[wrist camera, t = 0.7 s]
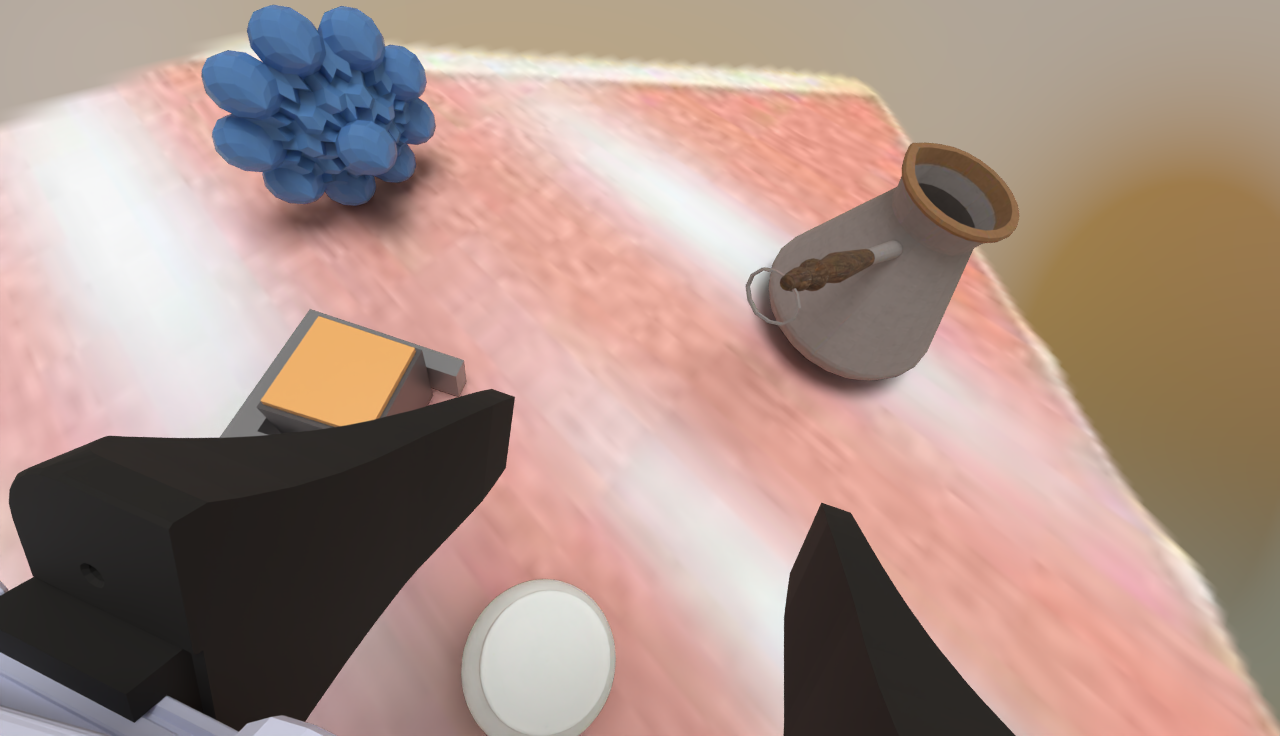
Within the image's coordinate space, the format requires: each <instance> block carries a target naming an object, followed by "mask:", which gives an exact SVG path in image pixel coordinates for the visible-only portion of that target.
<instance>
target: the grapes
mask: <svg viewBox="0 0 1280 736" xmlns="http://www.w3.org/2000/svg"><path fill="white" fill-rule="evenodd" d="M247 33H248V37H249V41H250V46H251V48H252V49H253V51H254V52H255V53H256V54H257V55H258V57H259V58H260V59H261V60H262V62H261V61H259V60H257V59H256V58H254V57H252V56H250V55H249V54H247V53H244V52H236V51H229V50H227V51H224V52H222V53H219V54H216V55H214V56H212V57H209V58H207V60H206V62H205V64H204V67H203V69H202V80H203V84H204V88H205V91H206V93H207V94H208V96H209V97H210V98H211V99H212V100H213V101H214V102H215V103H216V104H217V105H218V106H219V107H220V108H222V109H224V110H226V111H228V112H230V113H232V114H230V115H227V116H225V117H223V118H221V119H219V120H217V122H216V125H215V127H214V129H213V132H212V138H213V142H214V146H215V150H216V151H217V152H218V153H219V154H220V155H221V156H222V158H223V159H224V160H225V161H226V162H227V163H229V164H231V165H233V166H235V167H238V168H240V169H242V170H245V171H255V172H263V173H262V175H263V179H264V183H265V186H266V188H267V189H268V190H269V191H270V192H271V193H272V194H273V195H274V196H275V197H277V198H279V199H281V200H284V201H286V202H288V203H296V204H308V203H311V202H315V201H317V200H318V199H319V198H320V197H321V196H322V195H323V194H324V192H325V193H326V194H327V195H328V196H329V197H330V198H331V199H332V200H334V201H336V202H338V203H341V204H343V205H354V206H356V205H361V204H364V203H367V202H368V201H369V200H370V199H371V198H372V197H373V196H374V193H375V189H376V182H375V177H377V178H379V179H381V180H383V181H385V182H395V183H399V182H403V181H406V180H408V179H409V178H410V177H411V176H412V175H413V174H414V171H415V167H416V160H415V154H414V153H413V151H412V150H411V149H410V147H409V146H408V144H414V145H419V144H422V143H425V142H427V141H428V140H429V139H430V138H431V137H432V136H433V134H434V131H435V127H436V125H435V118H434V114H433V113H432V111H431V110H430V108H429V107H428V105H427V104H426V103H425V102H424V101H422V100H421V99H419V97H420V96H421V95H422V93H423V92H424V90H425V87H426V83H427V82H426V75H425V70H424V68H423V66H422V64H421V63H420V61H419V60H418V58H417V56H416V55H415V54H413V53H412V52H410V51H409V50H407V49H406V48H405V47H402V46H395V45H388V46H385V44H384V38H383V36H382V34H381V33H380V31H379V30H378V28H377V27H376V25H375V24H374V22H373V20H372V19H371V18H369V17H368V16H367V15H365V14H364V13H362V12H361V11H359V10H358V9H356V8H350V7H344V6H340V7H337V8H335V9H332V10H330V11H327V12H325V13H324V15H323V17H322V20H321V23H320V25H319V28H318V30H317V29H316V28H315V26H314V25H313V24H312V22H311V21H309V20H308V19H307V18H306V17H304V16H303V15H301V14H299V13H298V12H296V11H295V10H293V9H292V8H290V7H284V6H277V5H270V6H267V7H264V8H262V9H259V10H257V11H255V12H253V14H252V16H251V19H250V21H249V23H248V28H247ZM374 176H375V177H374Z"/></svg>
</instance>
